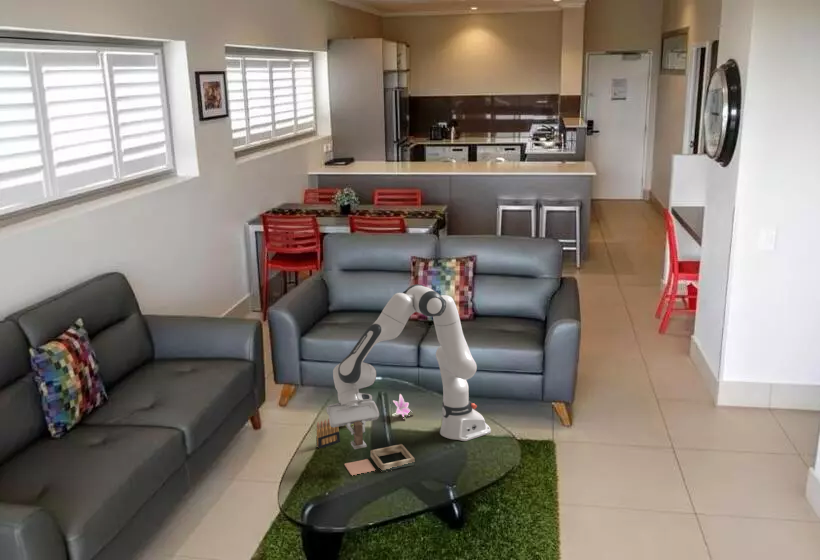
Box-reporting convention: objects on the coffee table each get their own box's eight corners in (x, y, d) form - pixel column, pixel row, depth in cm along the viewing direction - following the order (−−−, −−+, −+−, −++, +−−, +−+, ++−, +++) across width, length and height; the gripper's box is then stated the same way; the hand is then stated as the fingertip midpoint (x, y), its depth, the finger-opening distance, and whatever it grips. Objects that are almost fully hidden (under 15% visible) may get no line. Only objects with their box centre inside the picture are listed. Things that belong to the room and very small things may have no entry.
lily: (392, 426, 339) (401, 410, 335) (380, 408, 347) (389, 393, 343) (411, 426, 346) (421, 411, 343) (400, 409, 354) (409, 394, 351)
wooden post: (362, 441, 300) (361, 419, 298) (366, 446, 296) (365, 424, 293) (350, 443, 298) (350, 422, 296) (354, 449, 294) (353, 427, 292)
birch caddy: (402, 450, 313) (401, 443, 313) (414, 465, 301) (414, 458, 300) (370, 456, 308) (370, 450, 308) (382, 472, 296) (381, 465, 295)
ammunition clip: (318, 449, 316) (317, 423, 313) (316, 447, 318) (314, 421, 315) (340, 442, 322) (339, 416, 319) (338, 440, 324) (336, 415, 321)
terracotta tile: (367, 460, 306) (367, 458, 306) (375, 471, 297) (375, 469, 297) (344, 464, 302) (344, 463, 302) (351, 476, 293) (351, 474, 293)
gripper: (326, 402, 296) (334, 434, 289) (375, 394, 303) (383, 425, 297) (324, 408, 301) (331, 440, 294) (371, 400, 308) (380, 431, 302)
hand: (358, 433), depth 296 cm, fingers closed on wooden post, 2 cm apart
